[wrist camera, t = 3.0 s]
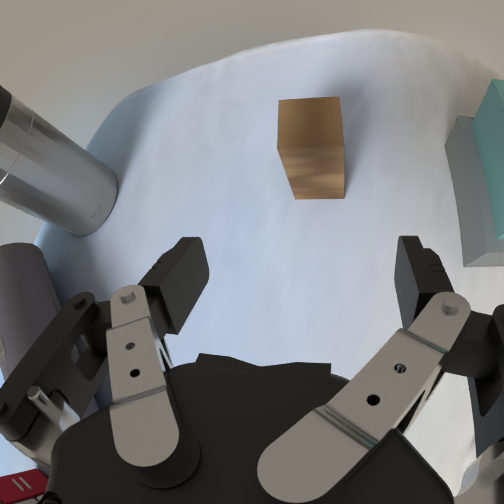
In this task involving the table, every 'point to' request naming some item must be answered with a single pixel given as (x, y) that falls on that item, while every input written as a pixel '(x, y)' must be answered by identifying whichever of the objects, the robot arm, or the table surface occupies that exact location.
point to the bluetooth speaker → (26, 305)
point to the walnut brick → (312, 147)
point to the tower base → (480, 179)
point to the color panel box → (23, 487)
